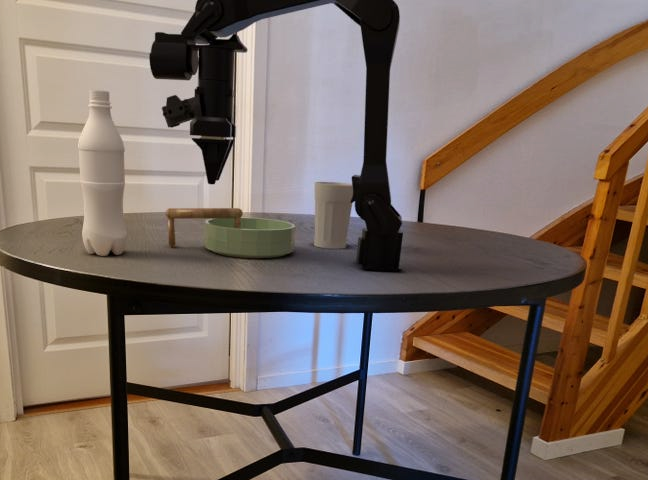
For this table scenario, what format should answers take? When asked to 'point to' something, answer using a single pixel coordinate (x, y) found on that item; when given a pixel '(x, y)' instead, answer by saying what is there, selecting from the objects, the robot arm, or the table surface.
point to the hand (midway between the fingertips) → (213, 182)
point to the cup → (332, 214)
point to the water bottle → (102, 179)
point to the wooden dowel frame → (200, 217)
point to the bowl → (250, 237)
